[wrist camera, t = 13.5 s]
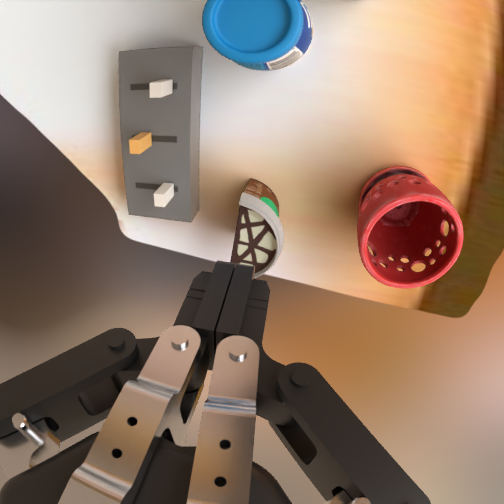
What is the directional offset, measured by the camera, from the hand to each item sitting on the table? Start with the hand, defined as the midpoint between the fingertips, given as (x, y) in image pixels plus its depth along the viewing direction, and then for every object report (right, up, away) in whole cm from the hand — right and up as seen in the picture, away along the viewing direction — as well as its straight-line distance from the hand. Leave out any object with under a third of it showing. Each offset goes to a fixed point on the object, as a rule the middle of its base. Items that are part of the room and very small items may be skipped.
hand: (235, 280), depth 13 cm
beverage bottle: (+4, +27, +20) cm, 34 cm away
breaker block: (-11, +18, +29) cm, 36 cm away
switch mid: (-13, +16, +25) cm, 33 cm away
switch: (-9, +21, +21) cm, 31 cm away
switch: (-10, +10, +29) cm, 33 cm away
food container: (+3, +7, +34) cm, 35 cm away
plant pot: (+21, +8, +30) cm, 38 cm away
